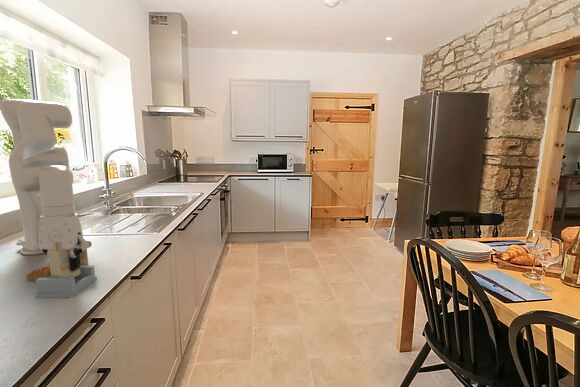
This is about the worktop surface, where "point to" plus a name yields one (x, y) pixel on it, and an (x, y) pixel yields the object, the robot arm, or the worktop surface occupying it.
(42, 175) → the robot arm
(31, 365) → the worktop surface
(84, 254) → the wooden mushroom
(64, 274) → the skincare box
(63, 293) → the grey rectangular frame
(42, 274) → the pastry
